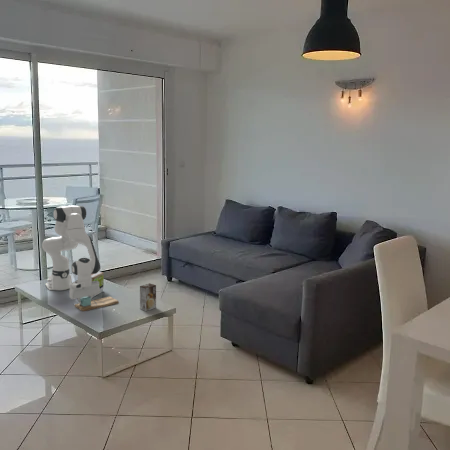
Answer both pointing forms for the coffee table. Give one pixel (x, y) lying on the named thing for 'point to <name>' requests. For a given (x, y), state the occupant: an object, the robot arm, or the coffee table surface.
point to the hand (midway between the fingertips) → (85, 302)
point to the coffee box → (147, 297)
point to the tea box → (98, 277)
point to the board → (98, 303)
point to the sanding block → (85, 301)
